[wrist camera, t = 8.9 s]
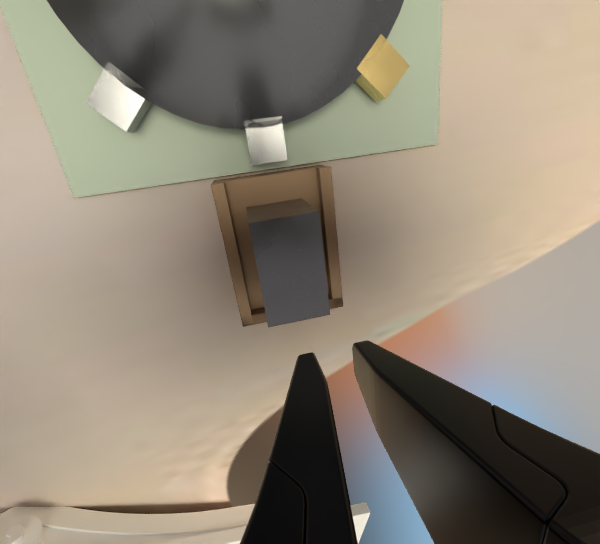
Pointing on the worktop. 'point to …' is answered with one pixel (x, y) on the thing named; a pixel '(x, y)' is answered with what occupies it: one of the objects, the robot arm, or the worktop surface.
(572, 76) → the worktop surface
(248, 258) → the brown rectangular tray
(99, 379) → the worktop surface
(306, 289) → the link block
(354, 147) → the mount plate
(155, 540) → the white wedge
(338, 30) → the sprocket
